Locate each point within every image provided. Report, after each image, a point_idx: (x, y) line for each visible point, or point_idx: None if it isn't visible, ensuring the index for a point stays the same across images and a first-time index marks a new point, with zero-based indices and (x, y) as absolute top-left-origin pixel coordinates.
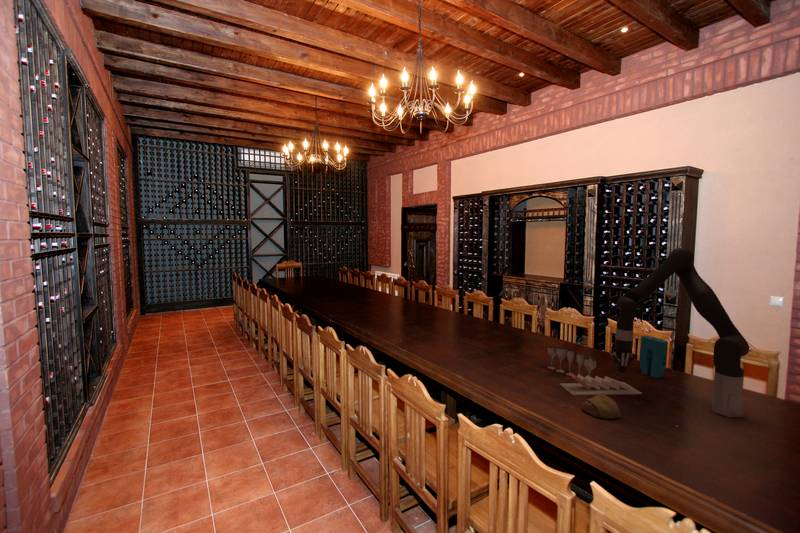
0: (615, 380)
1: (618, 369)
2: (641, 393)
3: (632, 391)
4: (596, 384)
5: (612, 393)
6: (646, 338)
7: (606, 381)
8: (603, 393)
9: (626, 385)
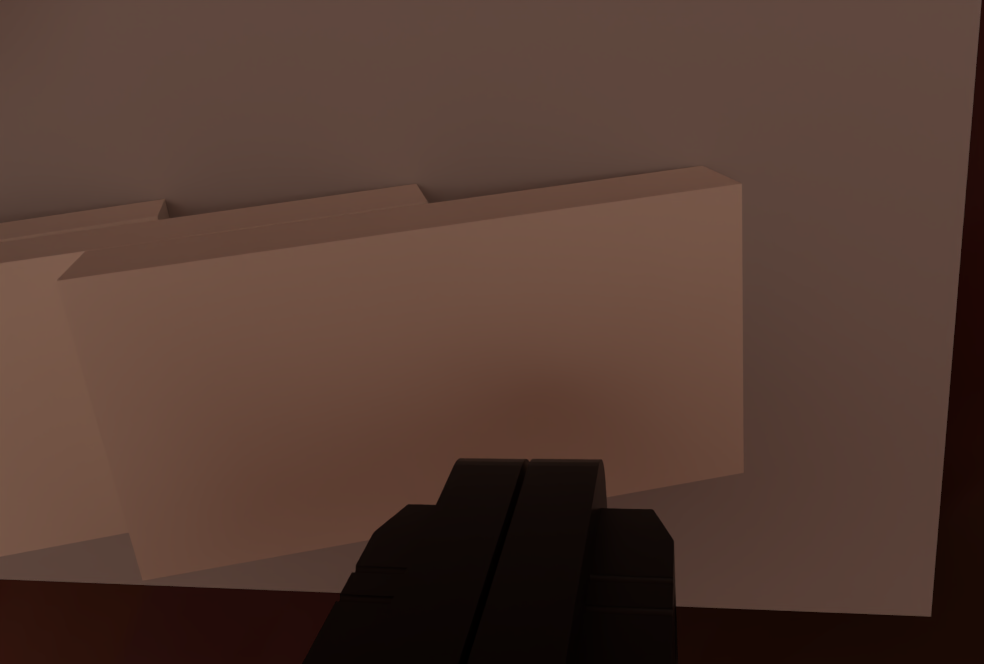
0: (397, 353)
1: (367, 551)
2: (912, 606)
3: (743, 530)
4: (54, 108)
5: (236, 581)
6: None
7: (39, 542)
8: (67, 568)
9: (658, 474)
